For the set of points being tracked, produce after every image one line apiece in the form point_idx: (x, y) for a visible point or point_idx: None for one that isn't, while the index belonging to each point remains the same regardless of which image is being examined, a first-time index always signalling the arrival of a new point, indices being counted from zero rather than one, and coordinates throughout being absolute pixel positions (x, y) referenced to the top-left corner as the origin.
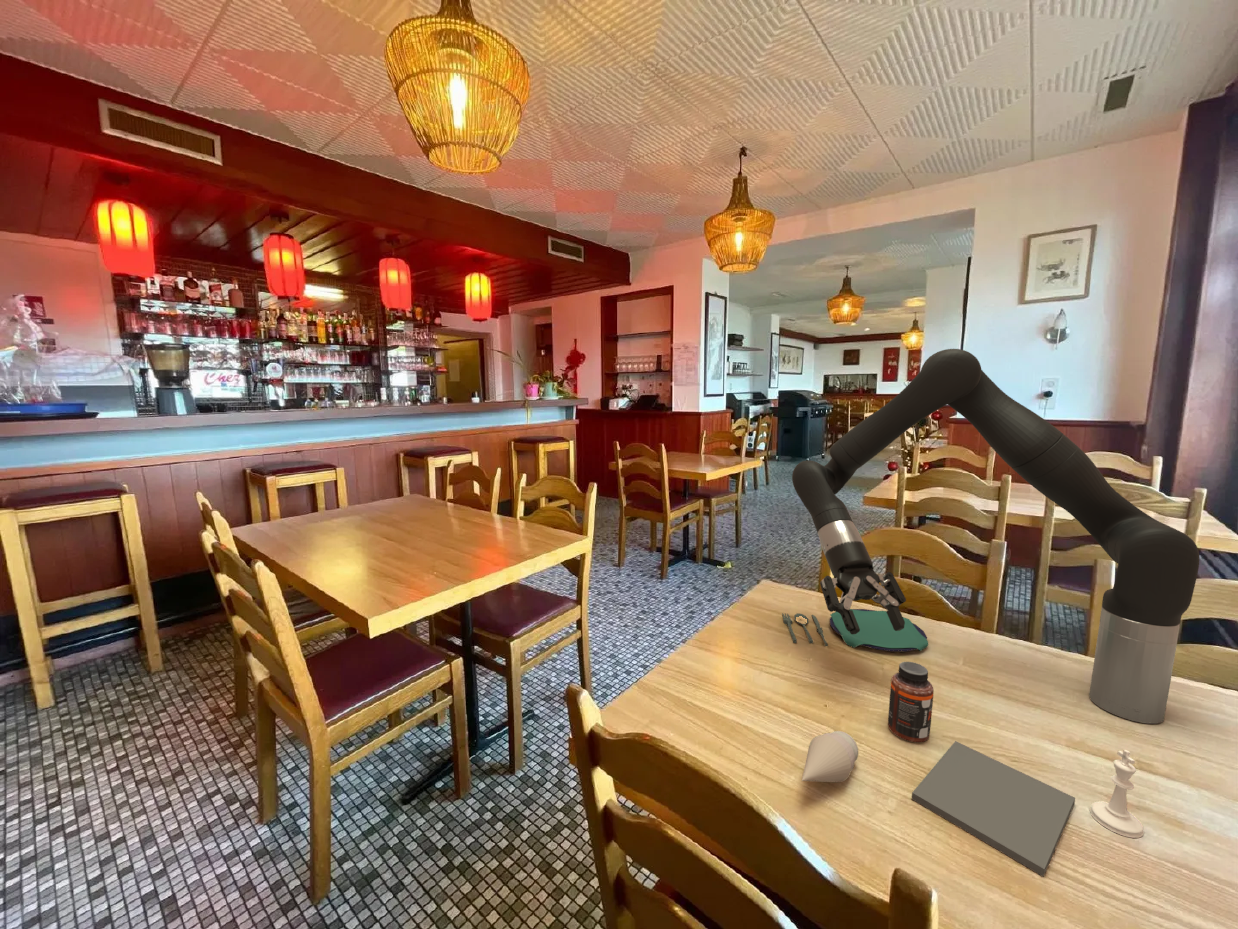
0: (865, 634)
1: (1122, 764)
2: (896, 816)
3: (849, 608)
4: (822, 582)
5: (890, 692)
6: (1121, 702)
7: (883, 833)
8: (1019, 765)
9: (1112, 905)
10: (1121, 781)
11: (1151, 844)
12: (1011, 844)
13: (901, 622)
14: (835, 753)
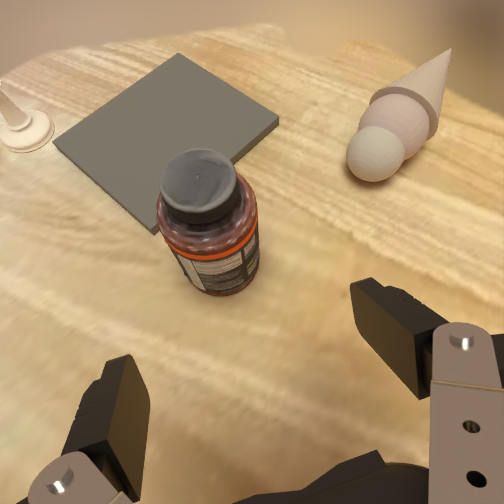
0: None
1: None
2: (308, 99)
3: (438, 331)
4: None
5: (257, 231)
6: None
7: (331, 78)
8: (72, 209)
9: (135, 48)
10: None
11: (21, 110)
12: (193, 70)
13: (112, 367)
14: (404, 77)
